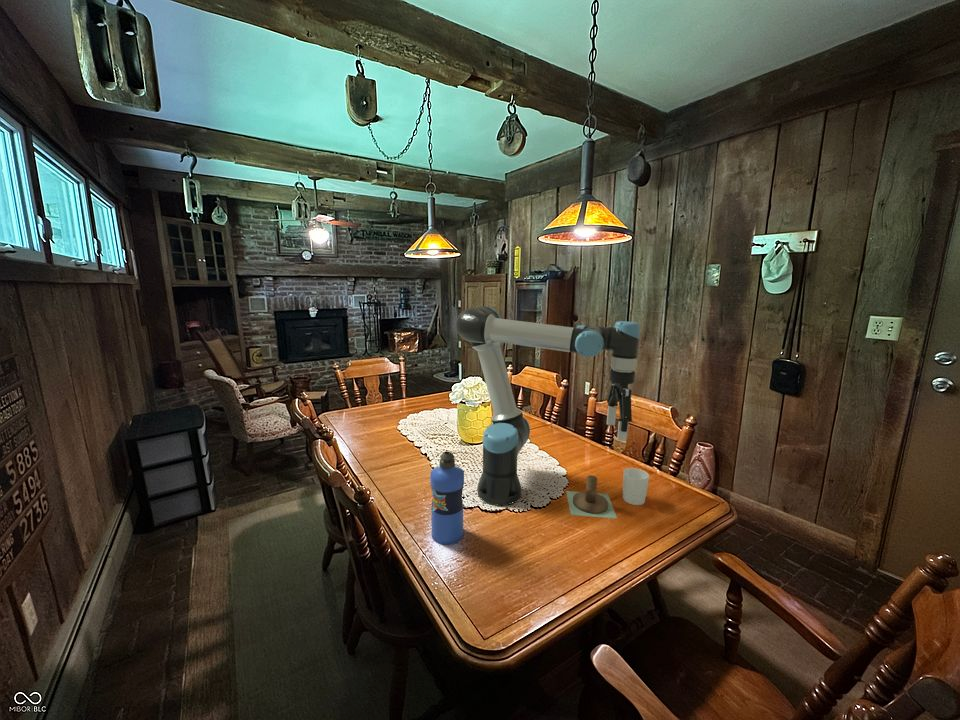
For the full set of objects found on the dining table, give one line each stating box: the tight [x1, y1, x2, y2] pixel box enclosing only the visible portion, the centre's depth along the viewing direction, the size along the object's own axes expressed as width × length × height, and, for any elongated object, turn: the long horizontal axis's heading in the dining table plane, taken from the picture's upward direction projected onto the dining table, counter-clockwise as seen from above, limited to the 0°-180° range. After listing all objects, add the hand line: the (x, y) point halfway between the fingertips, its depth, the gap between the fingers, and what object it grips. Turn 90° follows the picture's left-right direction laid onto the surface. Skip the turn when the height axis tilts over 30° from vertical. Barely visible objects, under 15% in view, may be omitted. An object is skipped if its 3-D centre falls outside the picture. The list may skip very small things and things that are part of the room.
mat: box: [565, 490, 618, 520], centre depth 122 cm, size 14×14×1 cm
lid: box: [573, 475, 608, 514], centre depth 121 cm, size 11×11×9 cm
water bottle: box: [429, 450, 465, 546], centre depth 104 cm, size 9×9×25 cm
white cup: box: [622, 467, 650, 506], centre depth 124 cm, size 8×8×10 cm
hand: (615, 432), depth 124 cm, fingers open, 13 cm apart
